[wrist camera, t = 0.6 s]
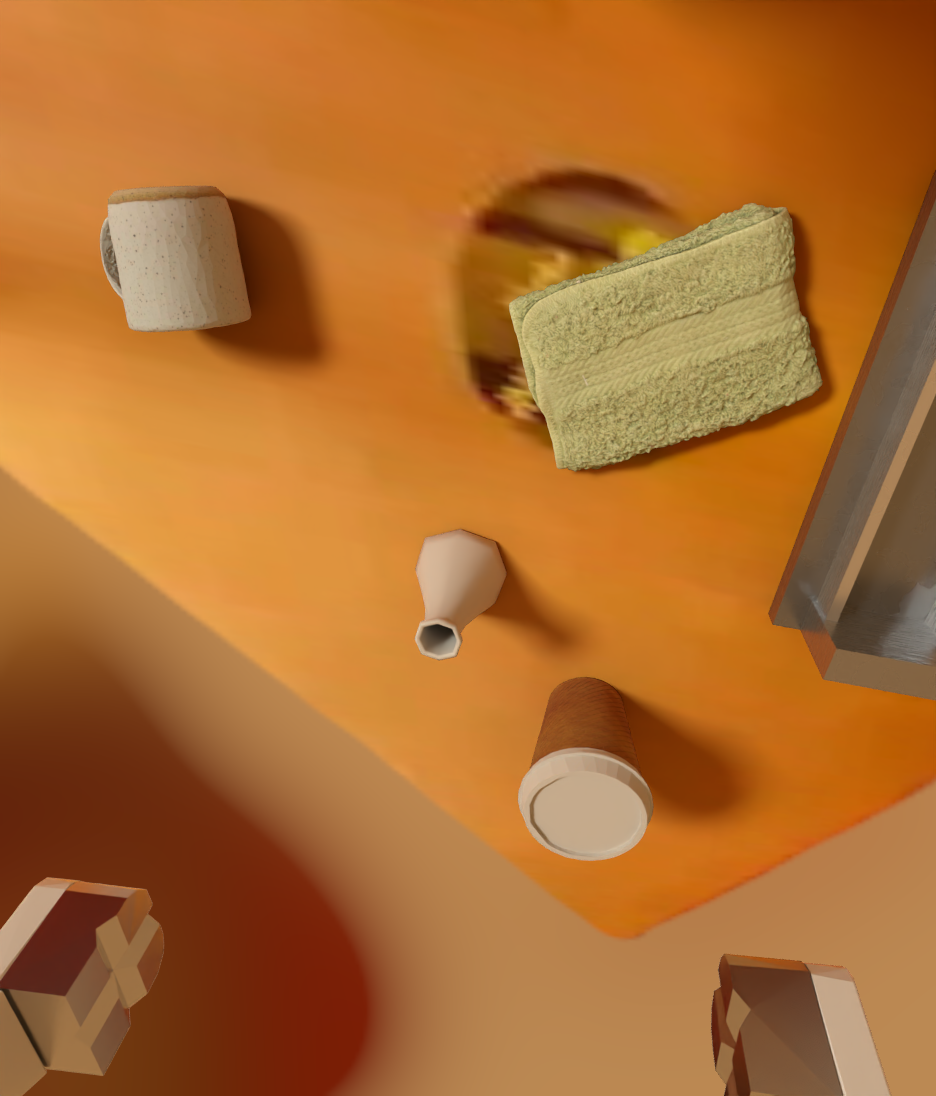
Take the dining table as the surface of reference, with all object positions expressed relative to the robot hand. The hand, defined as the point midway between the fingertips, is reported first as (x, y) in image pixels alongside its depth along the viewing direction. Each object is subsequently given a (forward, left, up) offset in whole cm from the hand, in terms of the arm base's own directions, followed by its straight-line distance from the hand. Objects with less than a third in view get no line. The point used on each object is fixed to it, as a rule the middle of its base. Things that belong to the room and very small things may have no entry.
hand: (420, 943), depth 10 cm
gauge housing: (+3, +26, -43) cm, 51 cm away
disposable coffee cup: (+30, +8, -44) cm, 53 cm away
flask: (+19, -4, -44) cm, 48 cm away
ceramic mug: (-1, -25, -44) cm, 50 cm away
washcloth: (0, +7, -44) cm, 45 cm away
